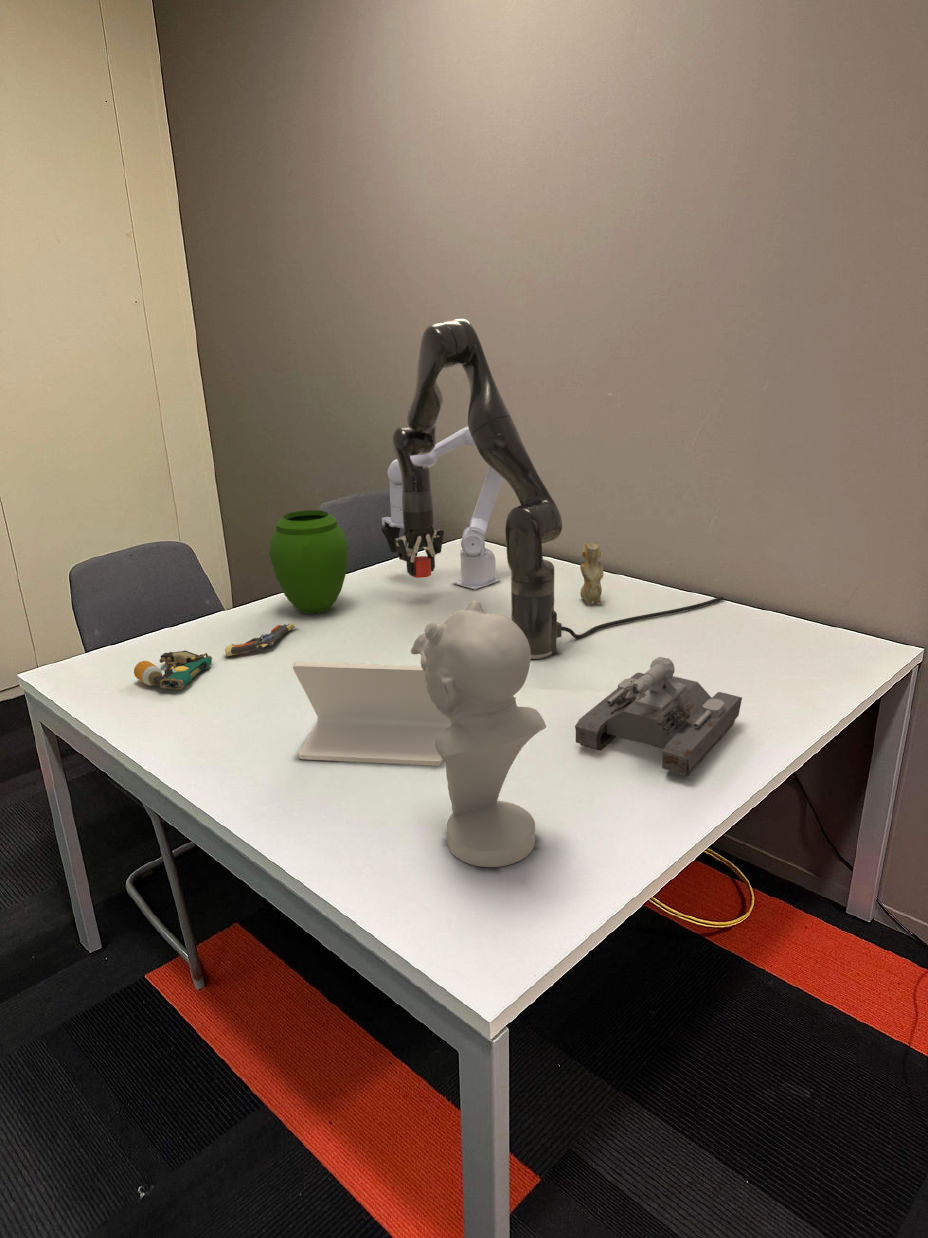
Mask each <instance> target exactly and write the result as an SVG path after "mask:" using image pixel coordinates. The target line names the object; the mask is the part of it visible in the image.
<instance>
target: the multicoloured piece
mask: <svg viewBox="0 0 928 1238" xmlns="http://www.w3.org/2000/svg"><path fill="white" fill-rule="evenodd" d="M212 660H213V657H212V656H211V655H208V653H207V652H205V653H201V654H197V653H194V652H192V651H191V652H190V651H188V650H180V651H169V652H164V653H162V654H161V655H160V658H159V660H158V662H159V663H161V664H163V663H165V664H166V668H165V670H163V672H164V674H163V673H162V669H160V668H159V666H157V665H156V664H154V663H152V662H151V661H149V660H141V661H139V662H138V663H136V665H135V666H134V668H133V675H134V677H135V678H136V679H137V680H139V681H140V682H142V683H143V684H145V685H147V686H155V685H157V686H158V687H160V688H161V689H171V690H172V689H173V690H182V689H184V687H185V686H186V685H188V684H189V683H190V682H191V681H192V679H193V678H195V677H196V676H197V675H198V674H200V673H201V672H202V671H203V670H206V669H208V668H209V667H210V666H211V665H212V662H213V661H212ZM178 663H179V664H181V665H179V666H176V665H177V664H178Z"/></svg>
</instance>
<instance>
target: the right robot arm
mask: <svg viewBox="0 0 928 1238" xmlns="http://www.w3.org/2000/svg"><path fill="white" fill-rule="evenodd" d="M418 351H419V352H418V361H417V370H416V380H415V386H414V391H413V395H412V399H411V402H410V405H409V407H408V410H407V414H406V424H407V426H399V427H397V428H395V430H394V431H393V433H392V435H391V446H392V448H393V452H394V454H395V457H396V459H397V460H398V463H399V467H400V471H401V477H402V509H403V525H404V528H405V529H404V532H403V535H402V536H399V538H395V539H394V542H395V546H396V549H397V553H396V554H397V557H398V559H399V560H401V561H403V562H405V563H406V573H407V574H408V575H409V576H410V577H413V576H415V575H416V570H415V562H414V559H415V555H416V554H417V552H418V553H419V549H424V552H425V554H426V557H430V559H431V573H432V572H434V571H435V568H436V556H437V555H438V554H441V553H442V547H443V542H444V541H443V540H444V534H445V532H444V530H442V529H440V528H434V526H433V525H434V507H433V506H434V505H433V495H432V490H431V489H432V486H431V471H430V467H429V468H428V467H427V466H426V465H422V464H414V463H413V462H412V461H411V458H410V456H414V455H423V454H428V453H430V452H431V451H432V450H433V449H434V448H435V445H436V444H437V439H436V437H437V436H436V435H437V434H436V432H437V431H436V429H437V422H438V420H439V416H440V414H441V411H442V408H443V402H444V399H443V393H442V390H441V388H440V386H439V384H438V382H437V380H438V377H439V375H440V374H441V372H442V370H445V369H450V368H453V367H456V366H460V365H461V367H462V369H463V370H464V373H465V375H466V377H467V381H468V384H469V392H470V393H469V394H470V395H469V404H468V412H467V426H468V428H469V432H470V434H471V436H472V438H473V441H474V443H475V447H476V449H477V451H478V453H479V455H480V456H481V459H483V461H484V462H485V463H486V464H487V465H488V467H489V466H490V467H491V468H492V469H493V470H495V471H496V472H497V473H498V474H499V475H500V476H501V477H502V478H503V481H505V482H506V483H507V484H508V485H509V486H510V488H511V489H512V490H513V492H514V494H515V496H516V498H517V500H518V502H519V504H520V505H517V506H515V507H513V508H512V509H511V510H509V512H508V514H507V516H506V520H505V526H504V527H505V530H504V533H505V548H506V561H507V565H508V568H509V570H510V588H511V589H510V597H511V599H510V603H511V604H510V606H511V607H510V609H511V610H510V615H511V617H510V619H511V620H512V621H513V622H514V623H515V624H516V625H517V626H518V627H519V628H520V629H521V630H522V632H523V633H524V634H525V636H526V638H527V640H528V643H529V646H530V652H531V653H530V655H531V656H530V660H540V659H545V658H548V657H550V656H552V655H557V654H558V653H557V650H558V649H557V648H558V647H557V645H558V644H557V643H558V638H561V637H562V632H563V631H564V632H567V633H569V634H570V635H571V636H572V637H573V638H574V639H577V640H578V639H579V640H580V639H584V638H586V637H588V636H590V635H591V634H592V633H594V632H596V631H598V630H602V629H605V628H608V627H611V626H615V625H620V624H626V623H630V622H635V621H639V620H640V621H641V620H645V619H649V618H654V617H661V616H666V615H672V614H676V613H680V612H685V611H690V610H694V609H697V608H702V607H705V606H708V605H709V606H710V605H712V604H714V603H718V602H720V601H723V600H724V598H725V597H724V596H723V595H722V596H718V597H716V598H712V599H710V600H707V601H704V602H700V603H696V604H693V605H688V606H687V605H686V606H683V607H679V608H673V609H669V610H663V611H657V612H652V613H646V614H641V615H636V616H630V617H627V618H621V619H618V620H613V621H610V622H605V623H601V624H599V625H596V626H594V627H591V628H590V629H588V630H587V631H585V632H584V633H582V634H581V633H580V634H577V633H576V632H574V630H573V629H572V628H569V627H567V626H563V623H561V622H559V621H558V613H557V612H556V611H555V565H554V564H553V562H551V561H549V560H548V559H544V558H543V556H544V555H543V545H545V544H548V543H551V542H554V541H555V540H557V539H558V538H559V537H560V535H561V533H562V531H563V520H562V519H563V518H562V515H561V513H560V510H559V508H558V506H557V504H556V502H555V500H554V499H553V497H552V495H551V493H550V492H549V490H548V489H547V487H546V485H545V484H544V482H543V480H542V479H541V476H540V475H539V473H538V471H537V470H536V467H535V465H534V463H533V461H532V459H531V457H530V455H529V453H528V451H527V449H526V447H525V444H524V443H523V440H522V438H521V436H520V434H519V431H518V428H517V427H516V424H515V422H514V420H513V418H512V417H511V416H512V415H511V413H510V412H509V410H508V408H507V406H506V404H505V402H504V400H503V397H502V395H501V393H500V391H499V389H498V385H497V383H496V381H495V380H494V379H495V378H494V377H493V375H492V374H493V373H492V371H491V368H490V366H489V364H488V363H489V362H488V361H487V357H486V355H485V352H484V349H483V345H482V344H481V341H480V338H479V335H478V333H477V331H476V330H475V328H474V326H473V325H472V324H471V322H470V320H468V319H466V318H463V317H462V318H460V317H459V318H454V319H450V320H446V321H441V322H437V323H433V324H430V325H429V326H427V327H426V328H425V330H424V331H423V333H422V336H421V340H420V345H419V350H418ZM432 539H433V540H432ZM407 542H408V543H407ZM412 547H413V549H412ZM417 555H418V554H417Z"/></svg>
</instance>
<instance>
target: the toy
mask: <svg viewBox="0 0 928 1238" xmlns="http://www.w3.org/2000/svg"><path fill="white" fill-rule="evenodd" d="M649 665H650V666H649V669H648V670H647V671H645V672H644V673H643V672H636V673H634V674H633V675H632V676H631V677H628V678H624V679H623V680H622V681H620V682H619V683H618V684H617V688H616V689H614V691H612V692H611V693H610V694H609V695H607V696H606V697H605V698H603V699H602V700H601V701H600V702H598V703H597V704H595V706H593V707H592V708H591V709H590V710H589V711H587V712H586V713H585V714H583V716H581V717H580V718H579V719H578V721H577V722H576V724H575V725H574V729H575V743H577V744H579V746H582V747H586V748H588V749H592V750H595V751H598V752H602V751H603V750H604V749H605V748H606V747H607V746H609V745H610V744H612V742H613V741H614V740H615V739H616V738H621V739H625V740H629V741H632V742H635V743H638V744H642V745H646V746H648V747H649V746H650V747H652V748H656V749H660V750H662V759H661V769H663V770H666V771H669V772H673V773H676V774H679V775H683V776H687V777H689V776H690V775H691V774H692V772H694V771H695V769H696V768H697V767H698V766H699V765H700V763H701V762H702V761H703V760H704V759H705V758H706V757H707V756H708V754H709V753H710V752H712V750H713V749H714V748H715V746H717V744H719V742H720V741H721V740H722V739H723V737H724V736H725V735H726V734H727V733H728V732H729V731H730V729H732V727H733V726H734V725H735V722H736V719H738V717H739V715H740V711H741V706H742V700H743V697H742V696H738V695H735V694H730V693H726V692H721V691H718V692H716V693H715V694H714V695H713V696H711V695H710V694H709V692H707V690H705V688H704V687H703V686H702V685H701V684H700V683H699V682H698V681H695V680H692V679H687V678H683V677H678V676H674V675H675V673H676V672H675V664H674V661H672V660H671V659H670V658H669V657H663V656H662V657H661V656H658V657H656V658H655V659H654V660H652V661H651V663H650V664H649Z"/></svg>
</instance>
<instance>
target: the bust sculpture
mask: <svg viewBox="0 0 928 1238" xmlns="http://www.w3.org/2000/svg"><path fill="white" fill-rule="evenodd" d="M530 653H531V652H530V646H529V643H528V640H527V638H526V636H525V634H524V633H523V632H522V630H521V629H520V628H519V627H518V626H517V625H516V624H515V623H514V622H513V621H512V620H511V618H508V617H507V616H504V615H503V614H502V615H501V614H496V613H485V609H484V607H483V605H482V603H481V602H480V601H478V600H473V599H472V600H470V601H469V603H468V605H467V607H466V609H460V610H457V611H455V612H453V613H451V615H449V616H448V617H447V618H446V619H445V620H444V622H442V624H441V623H435V622H430V623H428V624H427V625H426V626H425V628H424V632H423V633H421V634H419V635H418V636H417V637H416V638H415V640H414V642H413V645H412V647H411V649H410V654H412V655H420V666H421V667H422V669H423V670H424V671H425V681H426V683H427V691H428V693H429V695H430V698H431V701H432V702H433V703H434V704H435V706H436V708H437V709H438V710H439V711H440V712H441V713H442V714H443V715H446V716H447V717H448V718H449V719H450V720H451V726H450V727H448V728H446V729H445V730H443V731H442V732H441V733H440V734H439V735H438V736H437V737H436V740H435V747H436V750H437V752H438V753H439V755H440V756H441V758H442V759H443V760H442V762H444V763H445V771H446V781H447V790H448V796H449V800H450V803H451V810H452V813H451V814H450V815H449V817H448V819H447V822H446V844H447V847H448V849H449V851H450V852H451V854H452V855H453V856H454V857H456V858H457V859H459V860H460V861H462V862H463V863H466V864H469V865H471V866H476V867H483V868H498V867H505V866H509V865H512V864H517V862H520V861H521V860H523V859H525V858H527V856H528V855H530V854H531V852H532V851H533V849H535V848H534V847H535V845H536V822H535V821H536V820H535V819H534V817H533V816H532V814H531V813H530V812H529V811H528V810H526V809H525V808H524V807H522V806H520V805H517V804H515V803H513V802H509V801H504V800H499V796H500V793H501V790H502V788H503V785H504V783H505V780H506V778H507V776H508V773H509V771H510V769H511V768H512V765H513V763H514V761H515V760H516V759H517V756H518V755H519V753H520V752H521V750H522V749H523V748H524V747H525V745H526V744H527V743H528V742H529V741H530V740H531V739H532V738H533V737H535V735H537V734H538V733H539V732H541V731H544V730H545V729H546V728H547V725H546V723H545V720H544V718H543V717H542V714H541V713H540V712H539V711H538V710H537V709H535V708H533V707H530V706H518V705H517V701H516V699H517V698H516V696H515V695H516V694H517V693H519V691H521V689H522V688H523V686H524V684H525V683H526V680H527V678H528V675H529V669H530V666H531V659H530V656H531V655H530Z"/></svg>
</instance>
